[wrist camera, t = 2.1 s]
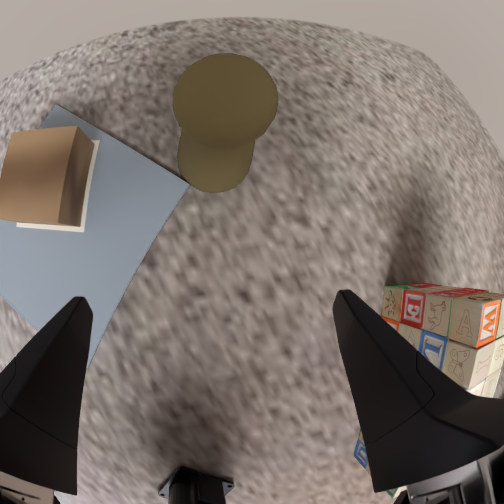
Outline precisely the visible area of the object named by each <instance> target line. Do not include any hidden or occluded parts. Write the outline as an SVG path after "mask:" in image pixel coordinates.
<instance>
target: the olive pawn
mask: <svg viewBox="0 0 504 504" xmlns="http://www.w3.org/2000/svg"><path fill="white" fill-rule="evenodd" d="M277 106H278V94H277V88H276V85H275V83H274V81H273V80H272V78H271V76H270V74H269V73H268V72H267V71H266V70H265V69H264V68H263V67H262V66H261V65H260V64H259V63H257V62H255V61H254V60H252V59H250V58H248V57H245V56H241V55H237V54H215V55H211V56H207V57H204V58H203V59H201V60H199V61H197V62H195V63H194V64H192V65H191V66H190V67H189V68H188V69H187V70H186V71H185V72H184V73H183V74H182V75H181V76H180V78H179V81H178V83H177V85H176V88H175V90H174V93H173V110H174V114H175V116H176V119H177V121H178V124H179V126H180V127H181V128H182V132H181V137H180V142H179V148H178V154H177V159H178V167H179V170H180V172H181V175H182V177H183V178H184V179H185V180H186V181H187V182H188V183H189V184H190V185H191V186H193V187H195V188H196V189H198V190H200V191H205V192H209V193H217V192H225V191H227V190H230V189H232V188H234V187H236V186H237V185H238V184H239V183H240V182H242V181H243V180H244V178H245V177H246V175H247V173H248V172H249V169H250V165H251V160H252V155H253V149H254V144H255V139H257V138H258V137H260V136H261V135H262V134H264V133H265V131H266V130H267V128H268V127H269V125H270V124H271V122H272V121H273V119H274V118H275V115H276V111H277Z"/></svg>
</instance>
